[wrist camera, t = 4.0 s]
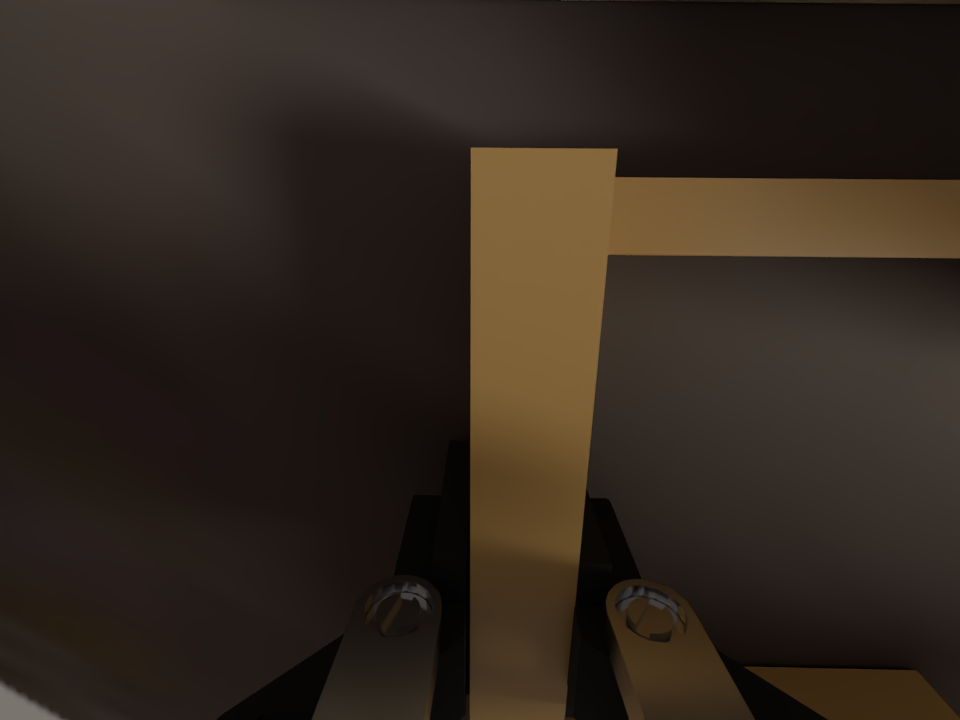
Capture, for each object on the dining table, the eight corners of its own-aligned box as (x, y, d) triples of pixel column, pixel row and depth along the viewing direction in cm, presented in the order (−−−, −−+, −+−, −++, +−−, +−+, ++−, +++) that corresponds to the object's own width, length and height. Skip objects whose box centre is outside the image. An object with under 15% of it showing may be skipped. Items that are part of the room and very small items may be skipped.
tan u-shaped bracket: (1121, 174, 9) (1640, 155, 5) (901, 705, 14) (1078, 923, 10) (478, 169, 9) (470, 147, 5) (475, 695, 14) (469, 906, 10)
